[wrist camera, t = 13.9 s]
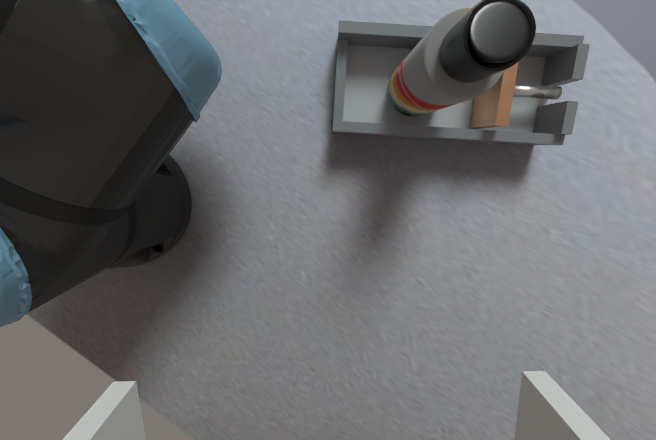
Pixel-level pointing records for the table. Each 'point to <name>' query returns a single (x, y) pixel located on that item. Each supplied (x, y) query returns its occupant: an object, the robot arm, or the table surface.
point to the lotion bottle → (462, 56)
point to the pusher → (506, 100)
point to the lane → (454, 121)
